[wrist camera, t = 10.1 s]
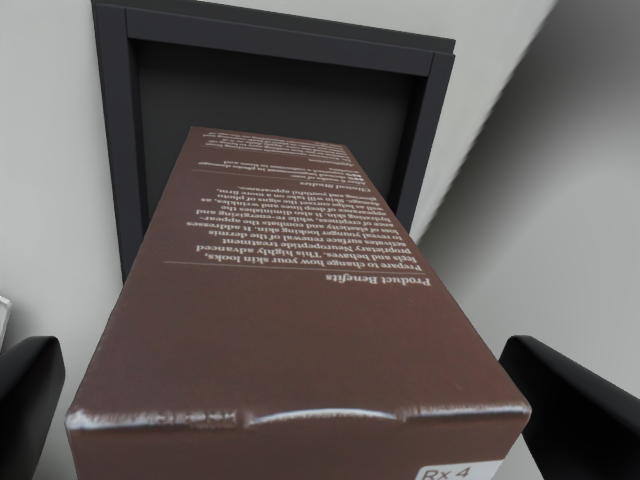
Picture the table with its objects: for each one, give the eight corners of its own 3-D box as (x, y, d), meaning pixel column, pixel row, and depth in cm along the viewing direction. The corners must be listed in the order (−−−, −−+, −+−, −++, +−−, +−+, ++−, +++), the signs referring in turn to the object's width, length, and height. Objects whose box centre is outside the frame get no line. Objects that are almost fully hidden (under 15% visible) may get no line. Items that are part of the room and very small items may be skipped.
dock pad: (128, 298, 18) (117, 325, 17) (95, -15, 13) (73, -19, 11) (383, 302, 21) (394, 325, 19) (449, 39, 15) (473, 41, 13)
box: (187, 234, 16) (84, 611, 6) (190, 122, 14) (39, 400, 4) (332, 244, 18) (451, 571, 7) (353, 143, 16) (559, 396, 5)
